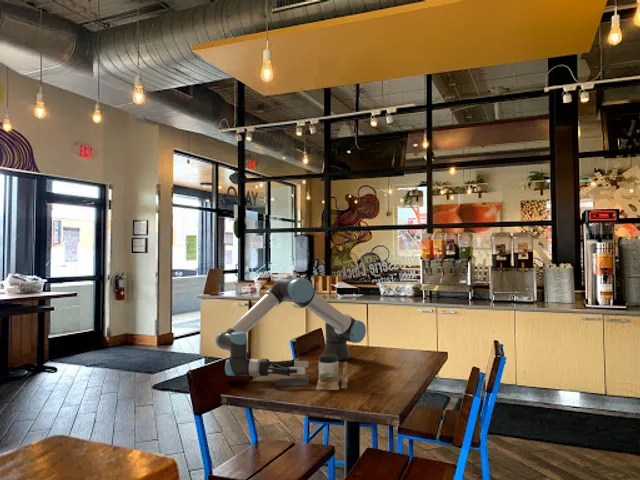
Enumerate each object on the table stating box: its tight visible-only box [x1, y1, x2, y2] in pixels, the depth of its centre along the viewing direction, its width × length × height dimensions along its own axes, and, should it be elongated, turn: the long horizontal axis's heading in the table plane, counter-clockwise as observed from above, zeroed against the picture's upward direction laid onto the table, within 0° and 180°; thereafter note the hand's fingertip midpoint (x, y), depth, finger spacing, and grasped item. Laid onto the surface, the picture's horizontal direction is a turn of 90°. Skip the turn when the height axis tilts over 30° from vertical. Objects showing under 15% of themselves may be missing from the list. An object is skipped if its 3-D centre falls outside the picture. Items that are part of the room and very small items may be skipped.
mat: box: [275, 377, 311, 387], centre depth 213 cm, size 14×12×1 cm
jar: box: [318, 353, 340, 384], centre depth 212 cm, size 9×8×12 cm
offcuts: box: [317, 372, 339, 387], centre depth 201 cm, size 8×3×6 cm, turn 85°
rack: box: [315, 361, 349, 391], centre depth 208 cm, size 13×17×8 cm
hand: (306, 367), depth 213 cm, fingers open, 13 cm apart
